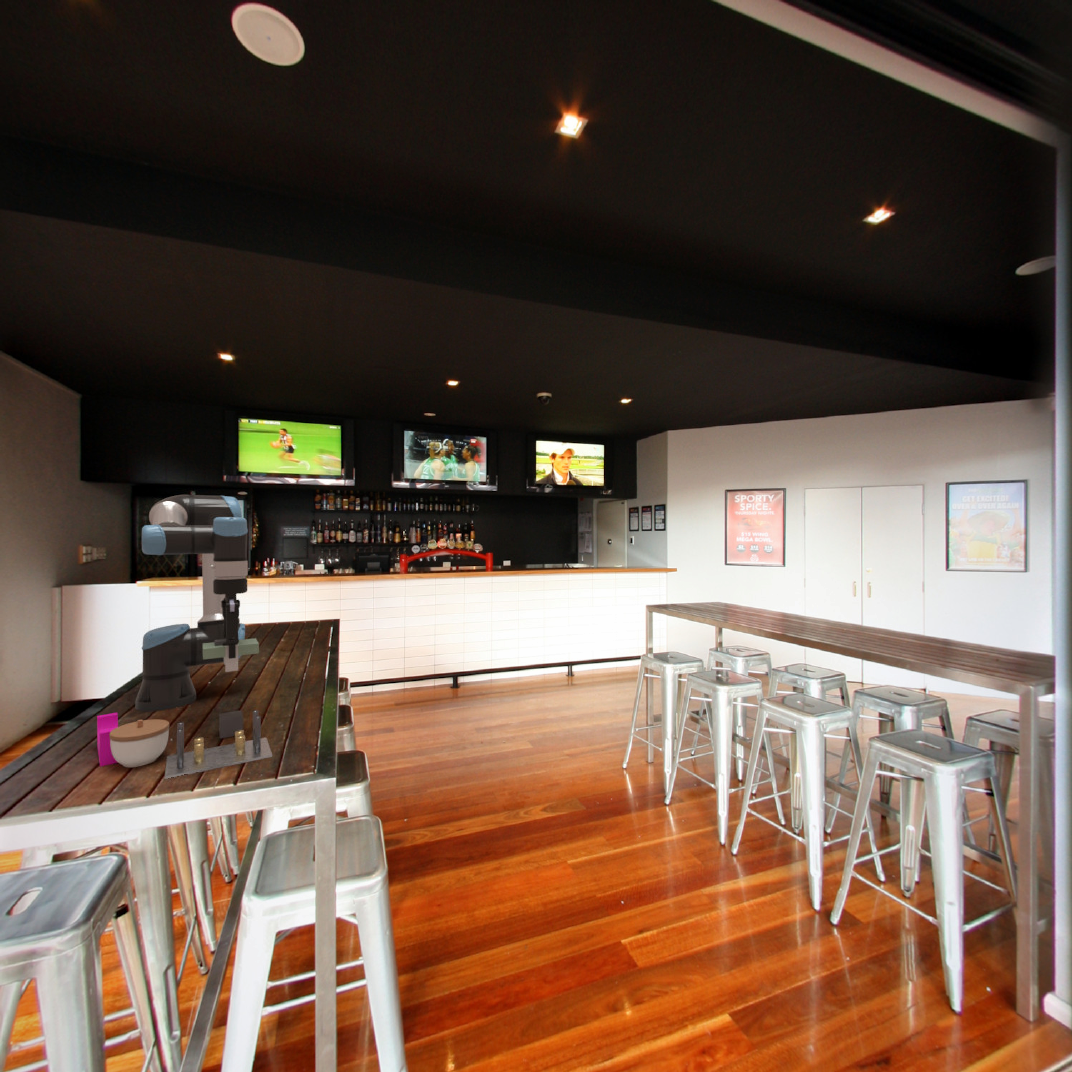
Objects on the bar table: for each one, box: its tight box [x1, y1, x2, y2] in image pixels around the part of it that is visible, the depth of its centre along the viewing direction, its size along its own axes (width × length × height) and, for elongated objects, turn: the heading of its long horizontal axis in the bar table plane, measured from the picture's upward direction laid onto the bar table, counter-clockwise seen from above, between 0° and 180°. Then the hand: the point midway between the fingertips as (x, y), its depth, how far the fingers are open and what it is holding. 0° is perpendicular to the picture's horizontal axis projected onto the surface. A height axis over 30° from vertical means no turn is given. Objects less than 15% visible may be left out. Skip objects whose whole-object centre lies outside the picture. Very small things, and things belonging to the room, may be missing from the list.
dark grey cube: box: [218, 710, 244, 739], centre depth 134 cm, size 5×5×5 cm
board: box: [203, 637, 260, 659], centre depth 134 cm, size 8×12×4 cm, turn 123°
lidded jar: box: [109, 718, 170, 768], centre depth 118 cm, size 11×11×9 cm
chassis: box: [164, 709, 273, 780], centre depth 119 cm, size 12×20×9 cm, turn 123°
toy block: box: [96, 712, 119, 767], centre depth 123 cm, size 15×6×8 cm, turn 42°
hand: (230, 667), depth 134 cm, fingers closed on board, 8 cm apart
